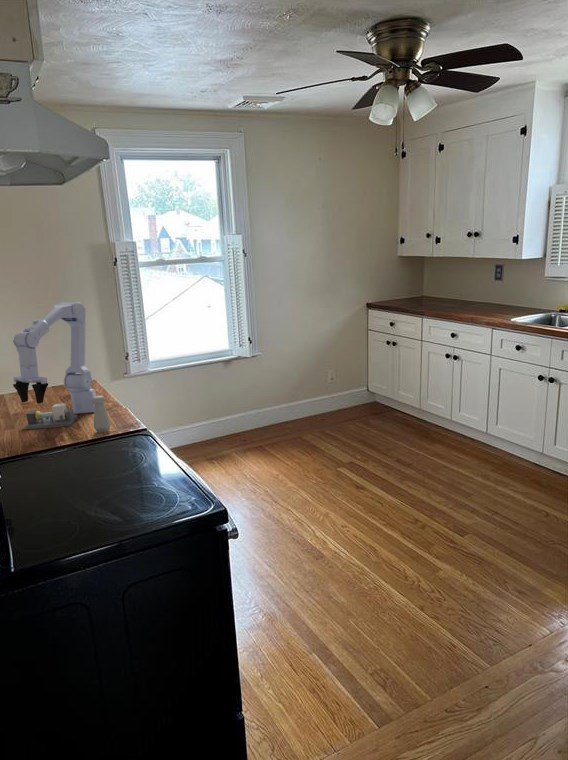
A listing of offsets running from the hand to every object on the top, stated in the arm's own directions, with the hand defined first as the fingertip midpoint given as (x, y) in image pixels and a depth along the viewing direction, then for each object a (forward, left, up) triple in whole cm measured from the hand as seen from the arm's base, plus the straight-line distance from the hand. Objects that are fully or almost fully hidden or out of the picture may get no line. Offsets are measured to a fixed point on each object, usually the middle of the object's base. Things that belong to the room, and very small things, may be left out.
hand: (32, 402), depth 196 cm
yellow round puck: (+2, -8, -9) cm, 12 cm away
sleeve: (-6, -8, -9) cm, 14 cm away
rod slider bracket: (-3, -8, -11) cm, 14 cm away
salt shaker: (-25, +8, -11) cm, 29 cm away
